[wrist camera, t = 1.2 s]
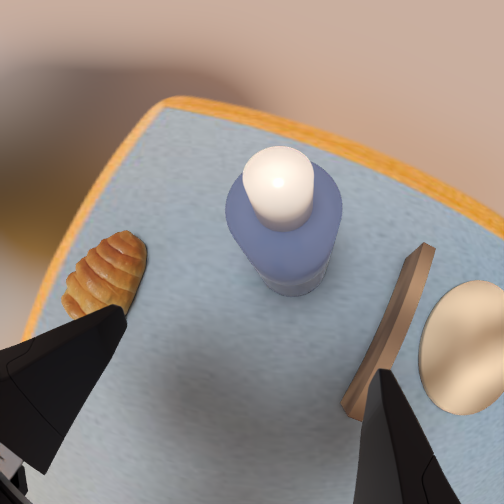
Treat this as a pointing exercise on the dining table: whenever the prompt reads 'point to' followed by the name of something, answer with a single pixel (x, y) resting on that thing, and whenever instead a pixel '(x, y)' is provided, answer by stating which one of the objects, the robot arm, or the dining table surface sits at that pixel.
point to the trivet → (464, 348)
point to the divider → (390, 328)
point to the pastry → (106, 276)
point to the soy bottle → (285, 218)
